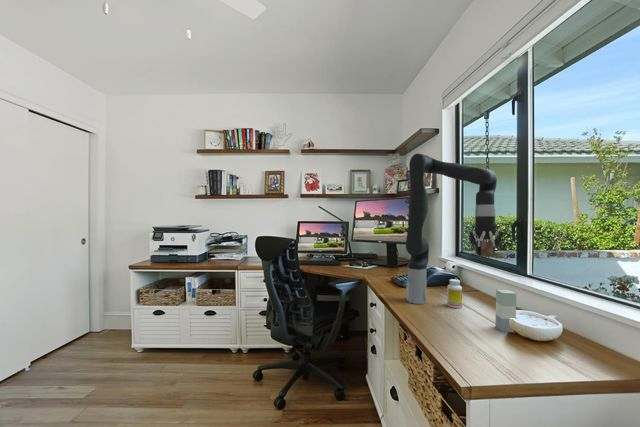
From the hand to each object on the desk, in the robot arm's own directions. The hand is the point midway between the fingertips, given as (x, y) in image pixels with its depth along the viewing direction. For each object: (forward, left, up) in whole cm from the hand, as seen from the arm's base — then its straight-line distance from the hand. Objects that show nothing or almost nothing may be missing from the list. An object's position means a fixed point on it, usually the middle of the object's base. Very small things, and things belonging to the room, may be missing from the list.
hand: (485, 254), depth 125 cm
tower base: (+4, -10, -28) cm, 30 cm away
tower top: (+4, -10, -18) cm, 21 cm away
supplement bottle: (-6, +17, -28) cm, 33 cm away
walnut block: (0, 0, 0) cm, 0 cm away
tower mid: (+4, -10, -23) cm, 25 cm away
